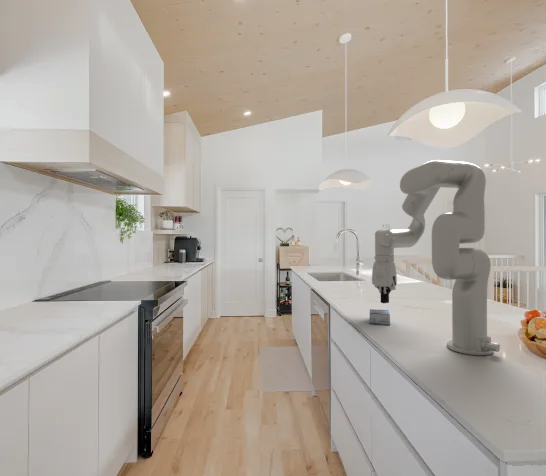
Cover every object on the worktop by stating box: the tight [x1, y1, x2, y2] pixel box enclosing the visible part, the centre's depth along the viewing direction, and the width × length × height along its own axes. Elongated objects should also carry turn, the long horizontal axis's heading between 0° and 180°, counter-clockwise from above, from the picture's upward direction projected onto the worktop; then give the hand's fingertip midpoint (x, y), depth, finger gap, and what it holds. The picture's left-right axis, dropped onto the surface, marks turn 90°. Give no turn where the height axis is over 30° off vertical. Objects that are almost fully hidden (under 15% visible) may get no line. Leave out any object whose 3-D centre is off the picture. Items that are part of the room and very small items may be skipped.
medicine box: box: [369, 309, 391, 326], centre depth 145 cm, size 8×4×9 cm
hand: (384, 302), depth 148 cm, fingers closed
